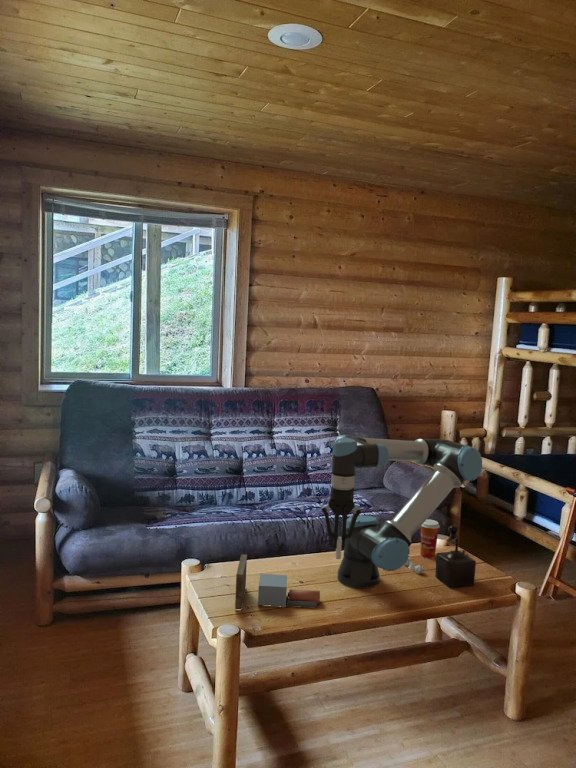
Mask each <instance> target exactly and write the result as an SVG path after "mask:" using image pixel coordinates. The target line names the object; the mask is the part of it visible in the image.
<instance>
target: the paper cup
mask: <svg viewBox="0 0 576 768" xmlns="http://www.w3.org/2000/svg"><path fill="white" fill-rule="evenodd" d="M440 528H441V527H440V524H439V522H438V521H437V520H434V519H428V518H427V519H426V521H425V522H424V523H423V524H422V525H421V527H420V556H421V557H423V558H426V559H432V558H435V555H436V549H437V541H438V534H439V529H440Z"/></svg>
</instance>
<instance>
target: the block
mask: <svg viewBox="0 0 576 768" xmlns="http://www.w3.org/2000/svg"><path fill="white" fill-rule="evenodd" d="M287 590H288V575H287V574H271V573H268V574H267V573H260V575H259V581H258V591H257V592H258V596H257V606H258V605H271V606H281V607H280V608H286V607H287V592H288V591H287Z"/></svg>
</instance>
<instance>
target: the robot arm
mask: <svg viewBox="0 0 576 768" xmlns="http://www.w3.org/2000/svg"><path fill="white" fill-rule="evenodd" d="M332 448H333V449H332V463H331V479H330V481H331V482H330V485H331V487H330V496H329V497H330V498H329V501H328V502H327V504H326V505H322V506H321V511H322V513H323V515H324V519H325V524H326V530H327V535H328V537H330V538H332V540H333V541H332V548H333V549H335V559H336V560H341V558H342V560H341V562H340V565H339V567H338V570H337V579H338V581H339V582H340V583H341V584H343V585H345V586H348V587H352V588H357V589H369V588H374V587H376V586H378V585H379V584H380V572H379V569H382V570H384V571H387V572H395V571H397V570H399V569H401V568H402V567H404V566H403V565H404V564H405V563H406V562H407V560H408V558H409V555H410V547H411V546H412V537H413V536H414V535H415V533H417V531H418V530H419V529H421V525H422V524H423V523H424V522H425V521H426V519H428V518H429V517H430V516H431V515H432V514H433V512H434V511H436V509H437V508H438V507H439V505H441V503H442V502H443V501H444V500H445V499H446V498H447V496H448V495H449V494H450V492H451V491H452V490H453V489H454V488H460V487H462V485H463V484H464V483H465V482H471V481H475V480H476V479H478V478H479V477H480V475H481V472H482V470H483V458H482V454H481V453H480V452H479V450H478V449H476V448H475V447H472V446H470V445H468V444H462V443H458V442H455V441H452V440H449V439H443V438H417V439H415V440H404V439H403V440H402V439H386V438H374V437H373V438H372V437H371V438H370V437H356V436H355V437H354V436H350V435H347V434H341V435H338V436H337V437H336V438H335V440H334V442H333V447H332ZM388 461H394V462H395V461H397V462H413V463H415V464H416V465H419V466H420V465H422V466H423V465H424V466H427V467H430V468H432V469H433V472H432V473H431V474H430V476H428V478H427V479H426V480H425V481H424V483H422V485H421V486H420V487H419V488H418V489H417V491H416V492H415V493H414V494H413V495H412V496H411V497H410V498H409V500H408V501H407V502H406V503H405V504H404V505H403V507H401V508H400V510H399V511H398V512H397V514H396V515H395V516H394V517H393V518H392V519H391V520H385V521H384V522H383V523H381V525H380V526H379V518H377V517H375V516H371V515H360V514H362V511H361V508H360V507H357V506H356V505H355V502H354V498H355V488H354V487H355V476H356V470H357V469H365V468H366V469H367V468H379V467H383V466H386V465H387V464H388ZM330 511H332V513H333V514H334V520H333V531H332V528H331V527H332V526H331V522H330V516H329V512H330ZM351 512H353V513H352V516H349V517H348V515H350V514H351ZM340 516H341V517H342V518H341V535H340V536H339V534H338V533H339V521H340V519H339V518H340ZM342 549H343V557H342Z"/></svg>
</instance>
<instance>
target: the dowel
mask: <svg viewBox="0 0 576 768" xmlns="http://www.w3.org/2000/svg"><path fill="white" fill-rule="evenodd" d="M288 592H289V598H288V600H293V601H312V602H317V605H320V602H321V601H320V599H321V591H320V590H311V589H310V590H307V589H289V590H288Z"/></svg>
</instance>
